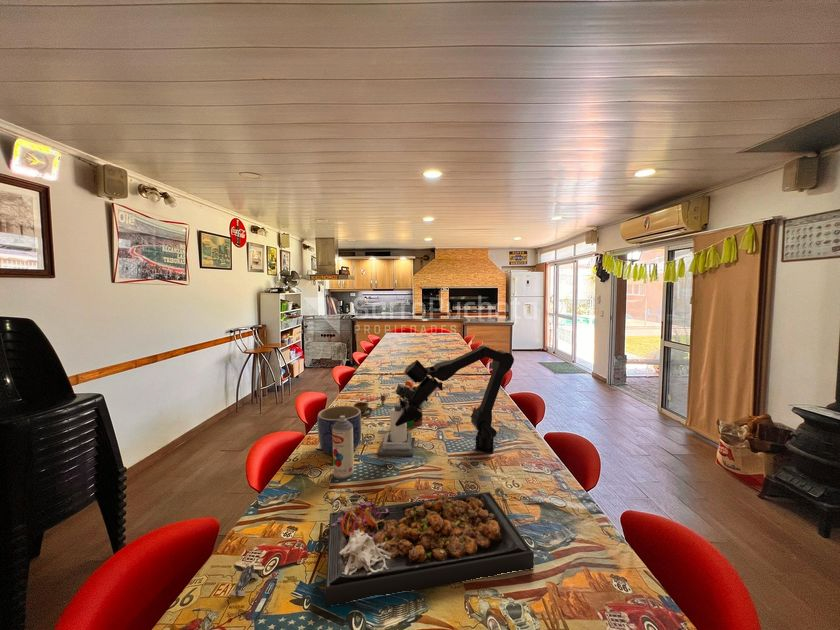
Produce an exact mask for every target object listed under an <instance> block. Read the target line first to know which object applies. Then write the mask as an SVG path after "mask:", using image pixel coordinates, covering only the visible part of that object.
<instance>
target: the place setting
mask: <svg viewBox="0 0 840 630" xmlns="http://www.w3.org/2000/svg"><path fill="white" fill-rule="evenodd" d="M380 401H381V405H382V407H385V401H386V395H381V396H380ZM353 407H356V408H358V409H360V411H361V419H368V417H369V418H370V417H371V416H370V415H371V414H372V413H373V408H372V407H371V406H370V407H369V405H368V403H367V402H363V401H361V402H356V403H353ZM367 409H369V410H371V411H370V412H367V411H369V410H367ZM362 413H363V414H362ZM369 414H370V415H369ZM366 415H367V416H366ZM364 417H366V418H364Z"/></svg>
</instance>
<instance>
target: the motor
mask: <svg viewBox="0 0 840 630" xmlns="http://www.w3.org/2000/svg"><path fill="white" fill-rule="evenodd" d="M404 386H407V387H409V388H411V389H412V388H413V387H414V383H413V380H405V382H404ZM420 407H421V408H420V411H421V412H422V413H423V404H422V405H421V406H420ZM422 425H423V417H422V418H421V419H420V420H419V421H418V420H417V419H416V420H412V421H409V422H407V428H409V429H410V428H411V429H413V428H415V427H417V426H418V427H421V426H422ZM418 427H417V428H418Z"/></svg>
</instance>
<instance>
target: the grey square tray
mask: <svg viewBox="0 0 840 630" xmlns="http://www.w3.org/2000/svg"><path fill="white" fill-rule="evenodd" d="M412 435H413V434H412V432H407V440H406V441H404V442H401V443H395V442H392V441H391V432H385V435H384V437H382V441H381V445H380V447H379V451H378V456H386V457H387V456H392V457H393V456H400V457H401V456H403V457H406V456H408V457H409V456H410V457H411V456H412V457H413V456H414V454H415V443H416V437H412Z"/></svg>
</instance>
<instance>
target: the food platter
mask: <svg viewBox="0 0 840 630" xmlns="http://www.w3.org/2000/svg"><path fill="white" fill-rule="evenodd" d="M353 492H354V493H355V495H356V496H357V500H358V501H357V502H355V505H356V506H355V505H353V504H350V506H351V507H353V508H354V509H352V508H349V507H348V508H347V510H340V511H337V512H330V514H329V522H328V523H329V526H328V537H327V538H328V542H327V554H326V555H327V557H326V559H327V560H326V571H325V572H326V573H325V586H324V587H325V588H324V589H325V590H324V591H325V592H324V593H325V595H324V596H325V608H329V607H328V606H331V605H337V604H342V605H345V604H344V603H346V602H350V601H353V600H358V599H362V598H366V597H370V596H375V595H386V594H392V593H397V592H402V591H412V590H417V591H421V590H427V589H431V588H433V589H434V588H438V587H444V586H448V585H454V584H458V582H460V583H463V582H462V581H465V582H467V581H466V580H471V579H472V580H471V581H474V580H473V579H476V578H480V577H487V578H489V577H488V576H492V577H495V576H494V575H497V574H501V573H507V572H512V571H519V570H524V571H526V570H525V569H529V570H532V569H531V568H534V567H535V566H534V565H535V564H534V563H535V562H534V561H535V558H534V557H535V555H534V551H533V550H532V548H531V547H530V546H529V544H528V543H527V542H526V540H525V539H524V537H523V536H522V534H521V533H520V532H519V530H518V529H517V528H516V526H515V525H514V523H513V522H512V520H511V519H510V518H509V516H508V515H507V514H506V513H505V511H504V509H503V508H502V507H501V505H500V504H499V503H498V502H497V500H496V499H495V497H494V495H492V493H491V492H490V491H486V492H480V493H479V492H478V493H477V492H476V493H470V494H463V495H455V496H449V497H447V495H442V494H438V495H437V496H436V498H433V499H426V500H419V501H411V502H405V503H404V502H403V503H397V504H395V503H394V504H388V505H381V506H378V505H376V504H375V503H374V501H372V502H369V503H366V501H362V500H360V497H359V496H358V494H357V492H356V491H353ZM534 569H535V568H534ZM519 572H520V571H519ZM497 576H498V575H497ZM476 580H477V579H476ZM412 592H413V591H412ZM337 606H338V605H337ZM331 607H332V606H331Z"/></svg>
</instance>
